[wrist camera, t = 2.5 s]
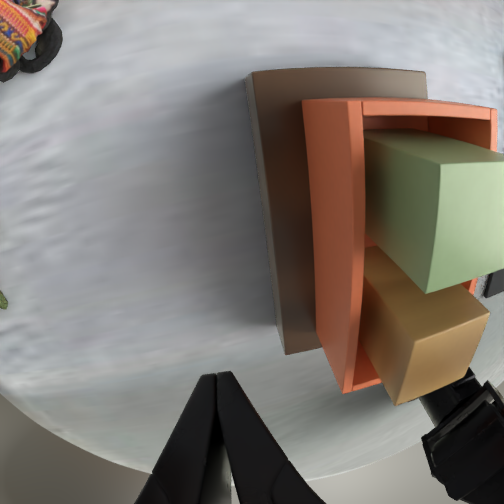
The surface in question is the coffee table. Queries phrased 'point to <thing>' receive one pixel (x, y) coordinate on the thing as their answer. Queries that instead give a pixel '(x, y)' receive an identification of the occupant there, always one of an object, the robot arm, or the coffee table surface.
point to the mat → (495, 283)
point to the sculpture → (3, 301)
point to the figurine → (27, 35)
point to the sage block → (434, 205)
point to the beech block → (416, 329)
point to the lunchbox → (362, 206)
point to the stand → (302, 176)
